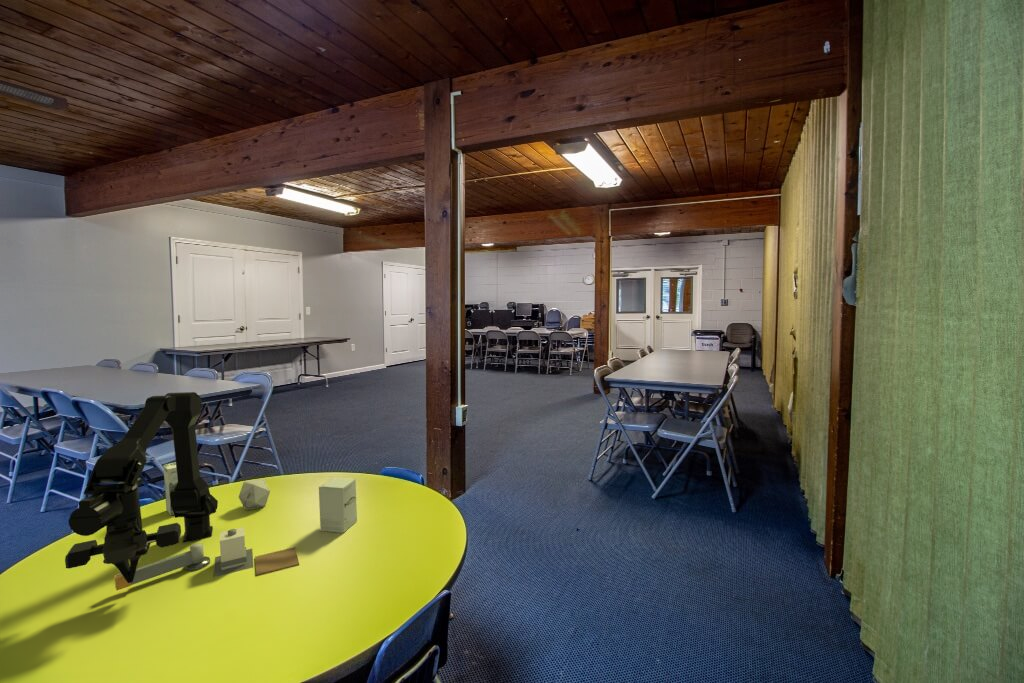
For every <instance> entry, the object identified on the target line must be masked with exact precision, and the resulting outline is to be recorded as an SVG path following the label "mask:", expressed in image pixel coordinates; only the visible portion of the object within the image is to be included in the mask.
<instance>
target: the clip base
mask: <svg viewBox="0 0 1024 683" xmlns="http://www.w3.org/2000/svg"><path fill="white" fill-rule="evenodd" d="M210 564H211V558H210V556H206V555H205V556H204V560H203V561H202V562H200V563H196V564H190V565H187V566H185V568H184V569H185V570H186V571H189V572H193V571H198V570H201V569H203V568H206V567H208V566H209V565H210Z"/></svg>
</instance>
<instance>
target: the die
mask: <svg viewBox="0 0 1024 683" xmlns="http://www.w3.org/2000/svg"><path fill="white" fill-rule="evenodd" d="M270 493H271V490H270V487H269V486H268V485H267V482H266V480H265V479H264V478H258V479H253V480H252V479H251V480H245V481H243V483H242V486H241V489H240V491H239V495H238V499H239V501H240V503H241V504H242V506H243V508H244V510H245V511H250V510H255V509H260V508H265V507H266V505H267V502H268V499H269V497H270Z"/></svg>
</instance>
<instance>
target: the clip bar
mask: <svg viewBox="0 0 1024 683" xmlns="http://www.w3.org/2000/svg"><path fill="white" fill-rule="evenodd" d="M204 554H205V552H204V544H203V542H196V543H193V544H191V545H190V546H189V550H188V551H185V552H182V553H179V554H176V555H173V556H169V557H168V558H163V559H161V560H158V561H154V562H151V563H149V564H146V565H143V566H140V567H137V569H136V573H135V576H134V580H133V582H132V583H127V581H126V580H125V578H124V577H123V575H122V574H121V572H120V573H117V574H114V584H115V587H114V588H115V590H116V591H120V590H123V589H126V588H128V587H131V586H132V585H133V586H134V585H136V584H139V583H141V582H144V581H146V580H150V579H153V578H156V577H159V576H161V575H164V574H167V573H170V572H174V571H176V570H179V569H181V568H184V567H185V566H187V565H190V564H196V563H200V562H202V561H203V560H204Z"/></svg>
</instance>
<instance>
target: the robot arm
mask: <svg viewBox="0 0 1024 683" xmlns="http://www.w3.org/2000/svg"><path fill="white" fill-rule="evenodd" d="M202 406H203V400H202V397H201V395H200V394H198V393H197V392H195V391H190V392H189V391H188V392H187V391H186V392H183V391H182V392H168V393H166V394H165V395H152V396H149V397H147V398H146V400H145V402H144V407H143V408H142V410H141V411H140V413H139V414H138V416H137V417H136V418H135V420H134V421H133V423H132V425H130V427H129V429H128V430H127V431H126V433H125V434H124V436H123V438H122V439H121V440H120V441H119V442H118V443H116V444H114V445H112V446H111V447H108V448H107V449H106V450H105V451H104V452H103V453H102V454H101V455H100V457H98V459H97V460H96V462H95V464H94V466H93V468H92V471H91V474H90V476H89V479H88V481H87V484H86V486H85V488H84V492H83V495H84V496H87V495H89V496H88V497H85V498H83V499H81V500H79V501H78V508H77V507H76V508H75V509H74V510H73V511H72V512H71V513H70V516H69V519H68V526H69V528H70V530H71V531H73V533H75V534H76V535H79V536H82V537H88V536H92V535H94V534H96V533H97V532H98V531H99V532H100V531H101V530H102V529H103V528H105V527H106V533H105V536H104V539H103V540H104V542H103V543H101V544H98V541H97V540H96V539H93V540H91V539H90V540H88V541H83V542H78V543H74V544H73V545H72V546H71V548H70V549H69V551H68V552H67V553H66V555H65V556H64V557H65V558H64V563H65V568H66V569H73V568H77V567H78V568H79V567H82V566H85V565H87V564H88V563H89V562H90V561H91V557H94V556H98V555H103V561H102V563H103V564H106V565H113V566H114V567H115V568H117V569H118V571H119V572H120V573H121V574H122V575H123V577H124V578H125V580H126V581H127V583H132V582H133V580H134V576H135V573H136V569H137V568H138V566H139V562H140V559H141V557H142V556H145V555H147V554H148V553H149V552H148V551H149V549H150V546H151V544H152V543H155V544H156V546H157V547H159V548H166V547H171V546H174V545H178V544H179V543H180V539H181V536H182V527H181V524H179V523H178V522H173V523H169V524H164V525H163V524H162V525H159V526H158V528H157V532H152V533H147V532H146V530H145V529H144V530H143V521H142V513H141V502H140V493H139V486H140V485H141V484H143V483H144V482H145V479H143V478H141V477H140V476H141V474H142V472H144V468H145V465H146V463H147V456H146V452H147V449H148V448H149V446H150V444H151V442H153V439H154V437H155V436H156V434H157V433H158V432H159V430H160V428H161V427H162V425H163V423H164V422H165V423H167V425H168V426H169V427H170V428H171V430H172V440H173V448H174V457H175V459H174V460H175V462H176V469H177V478H178V483H177V485H176V486H175V488H174V490H173V491H171V492H170V499H171V505H170V507H172V510H173V513H174V515H173V516H174V518H175V519H176V518H183V522H184V523H183V525H184V533H183V537H182V543H184V544H185V543H188V542H193V541H198V540H202V539H208V538H211V537H212V536H213V525H211V521H210V520H211V519H210V518H211V517H210V516H211V515H212V514H215V513H217V509H218V506H219V505H218V503H219V500H217V499H216V497H214V496H213V495H212V494H211V491H210V489H209V488H210V487H209V484H208V483H207V482H206V481H205V480H204V479H203V478H202V477H201V471H200V463H199V452H198V443H197V432H196V423H197V422H198V419H199V417H200V416H201V414H202ZM101 483H102V484H101ZM104 483H105V484H104ZM106 483H109V484H106Z"/></svg>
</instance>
